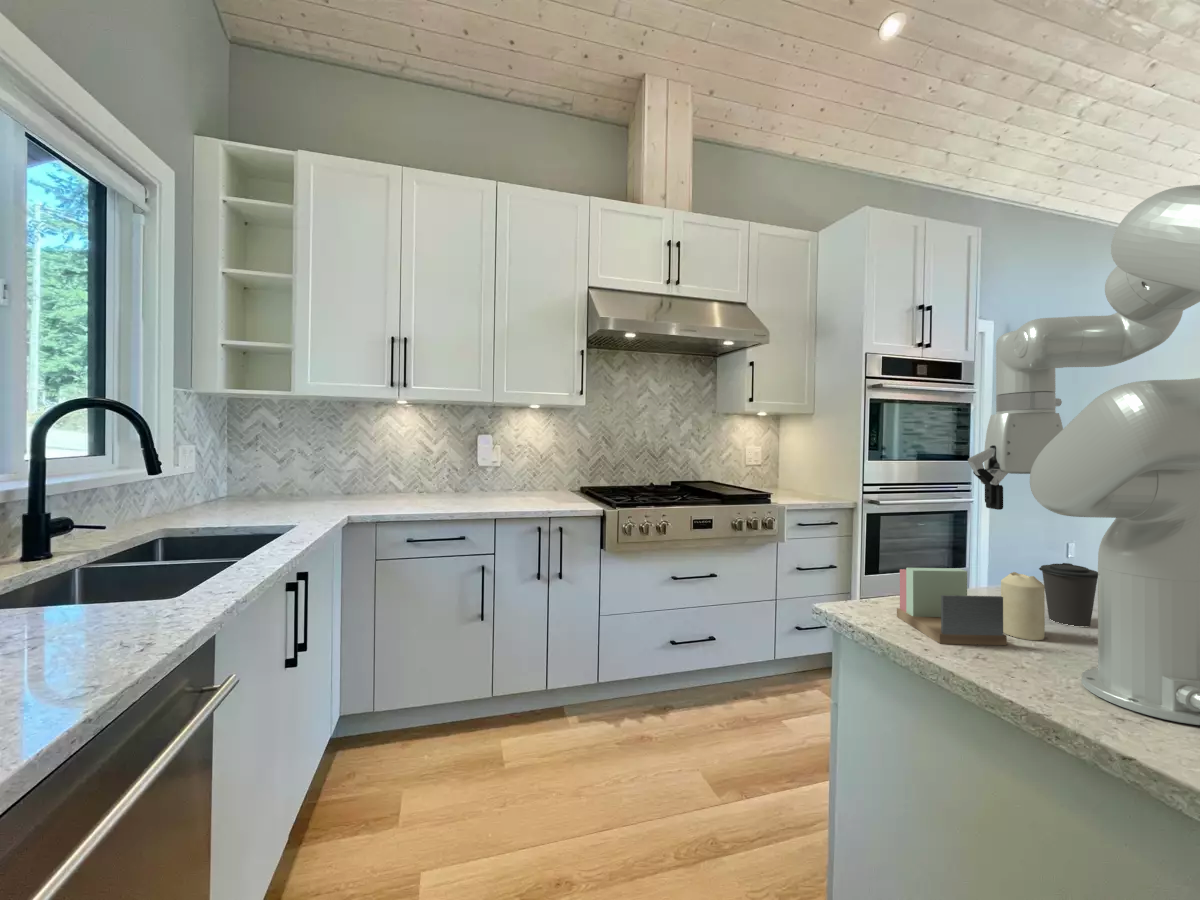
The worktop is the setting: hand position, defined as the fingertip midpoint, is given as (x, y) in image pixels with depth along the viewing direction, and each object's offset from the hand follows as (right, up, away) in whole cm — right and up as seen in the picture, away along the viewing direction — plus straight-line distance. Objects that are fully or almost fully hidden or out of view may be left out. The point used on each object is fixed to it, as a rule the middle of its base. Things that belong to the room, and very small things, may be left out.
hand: (1025, 508), depth 83 cm
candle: (-1, -21, 0) cm, 21 cm away
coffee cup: (+13, -21, +6) cm, 25 cm away
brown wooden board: (-12, -21, +2) cm, 24 cm away
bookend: (-12, -19, -4) cm, 23 cm away
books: (-11, -19, +6) cm, 23 cm away
